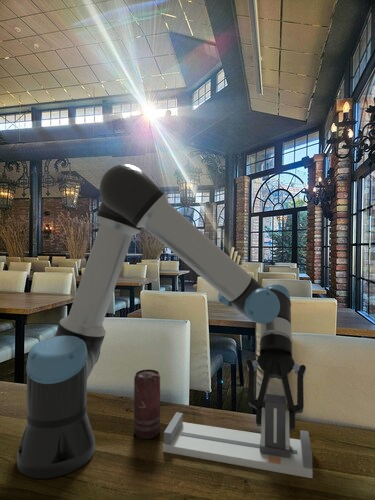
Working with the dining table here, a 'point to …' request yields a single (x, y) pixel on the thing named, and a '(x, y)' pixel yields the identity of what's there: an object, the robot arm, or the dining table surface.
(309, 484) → the dining table surface
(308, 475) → the fader base
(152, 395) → the can
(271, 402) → the fader knob
